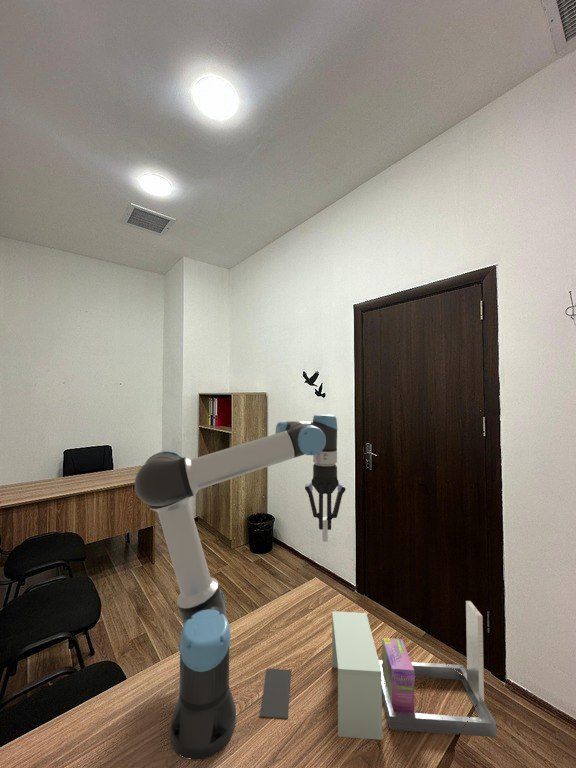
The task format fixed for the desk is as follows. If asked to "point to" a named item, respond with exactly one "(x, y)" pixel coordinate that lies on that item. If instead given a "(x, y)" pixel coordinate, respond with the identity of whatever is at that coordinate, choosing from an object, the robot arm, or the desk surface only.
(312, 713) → the desk surface
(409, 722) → the frame
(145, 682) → the desk surface
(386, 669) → the box
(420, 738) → the desk surface
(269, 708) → the mat
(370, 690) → the sage green tall block
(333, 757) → the desk surface
